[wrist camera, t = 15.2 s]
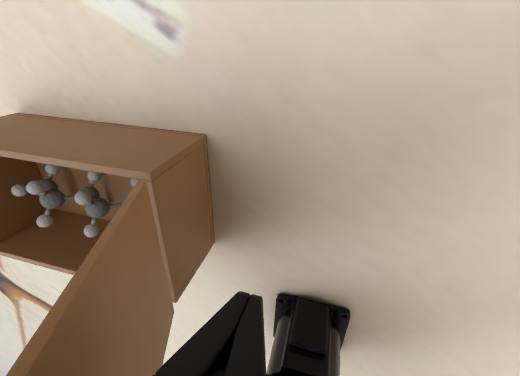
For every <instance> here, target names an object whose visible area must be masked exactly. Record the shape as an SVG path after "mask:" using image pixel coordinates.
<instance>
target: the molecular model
mask: <svg viewBox="0 0 520 376" xmlns="http://www.w3.org/2000/svg"><path fill="white" fill-rule="evenodd" d="M60 169H61V168H60V166H56V165H50V164H47V165H46V167H45V170H46V172H47V173H49V175H48V178H47V179H41V180H39V181H31V182H29V183H28V184H27V186H25V185H23V184H16V185H14V186H13V187H12V189H11V192H12V194H13V195H15V196H19V197H20V196H24V195H26V194H27V192H29V193H31V194H34V195H36V194H37V195H38V196H40V198H39V200H40V204H41V205H43V206H44V207H45V208H47V209H46V212H45V214H43V215H41V216H39V217H38V218H37V220H36V222H37V225H38V226H39V227H43V228H44V227H49V226H50V225H52V223H53V217H52V216H50V213H51V210H52V209H55V208H59V207H61V206H62V205H63V203H64V202H66V200H68V199H75V202H77V203H78V204H80V205H86V207H85V209H86V213H87V214H88V215H89V216H91V217H93V219H92V222H91V224H89V225H87V226H86V227H85V228H84V234H85V235H86V236H87V237H95V236H97V235H98V234H99V232H100V228H99V227H98V225H96V222H97V218H101V217H104V216H105V215H106V214H107V213H108V212H109V210H110V208H115V207H120V206H121V205H122V203H123V202H124V200H125V199H126V197H127V196H128V195H129V194H128V195H126V196H124V197H123V199H122V202H121V203H115V204H109V203H108V201H106V200H105V199H103V198H100V194H99V191H98V190H97V189H96V188H95V187H93V186H94V183H95V181H98V180H100V179H101V177H102V174H101V173H99V172H93V171H89V172H88V174H87V177H88V179H89V180H91V181H90V184H89V186H85V187H82V188H81V189H79V191H78V192H77V193H76V194H75V195H69V196H66V195H65V194H64V193H62V192H61V191H60V190H58V185H57V184H56V182H55V181H53V180H52V177H53V174H57V173H59V171H60ZM138 180H142V179H135V178H132V179H131V181H130V182H131V185H132V186H133V187H134V186H135V184H136V183H137V181H138Z"/></svg>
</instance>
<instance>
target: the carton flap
mask: <svg viewBox="0 0 520 376" xmlns="http://www.w3.org/2000/svg"><path fill="white" fill-rule="evenodd" d="M173 314H174V308H173V304H172V299H171V294H170V290H169V285H168V280H167V276H166V271H165V266H164V262H163V257H162V252H161V247H160V243H159V238H158V233H157V229H156V224H155V219H154V215H153V210H152V205H151V200H150V196H149V191H148V186H147V182H146V180H138V181H137V183H136V184H135V186H134V187H133V189H132V190H131V192H130V193H129V195H128V196H127V197H126V199H125V200H124V202H123V203H122V205H121V206H120V208H119V209H118V211H117V212H116V214H115V215H114V217H113V218H112V220H111V221H110V223H109V224H108V226H107V227H106V229H105V230H104V232H103V233H102V234H101V236H100V237H99V239H98V240H97V242H96V243H95V245H94V246H93V248H92V249H91V251H90V252H89V254H88V255H87V257H86V258H85V260H84V261H83V263H82V264H81V266H80V267H79V269H78V270H77V271H76V273H75V274H74V276H73V277H72V279H71V280H70V282H69V283H68V285H67V286H66V288H65V289H64V291H63V292H62V294H61V295H60V297H59V298H58V300H57V301H56V303H55V304H54V305H53V307H52V308H51V310H50V311H49V313H48V314H47V316H46V317H45V319H44V320H43V322H42V323H41V325H40V326H39V328H38V329H37V331H36V332H35V334H34V335H33V337H32V338H31V340H30V341H29V342H28V344H27V345H26V347H25V348H24V350H23V351H22V353H21V354H20V356H19V357H18V359H17V360H16V362H15V363H14V365H13V366H12V368H11V369H10V371H9V372H8V374H7V375H6V376H152V375H153V374H154V375H155V373H156V371H157V370H158V369H159V368H160V367H161V366H162V364H163V359H164V355H165V350H166V346H167V341H168V337H169V332H170V328H171V323H172V319H173Z"/></svg>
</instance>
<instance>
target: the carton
mask: <svg viewBox="0 0 520 376" xmlns="http://www.w3.org/2000/svg"><path fill="white" fill-rule="evenodd" d="M47 164H50V165H56V166H60V168H61V169H60V171H59V173H57V174H53V177H52V180H53V181H55V182H56V184H57V185H58V190H60V191H61V192H62V193H64V194H65V195H66V196H69V195H75V194H76V193H77V192H78V191H79V189H81V188H82V187H85V186H89V184H90V181H91V180H89V179H88V177H87V174H88V172H89V171H93V172H99V173H101V174H102V177H101V179H100V180H98V181H95V183H94V186H93V187H95V188H96V189H97V190H98V191H99V194H100V198H103V199H105V200H106V201H108V203H109V204H115V203H121V202H122V199H123V197H124V196H126V195H128V194H129V193H130V192H131V190H132V189H133V186H132V185H131V182H130V181H131V179H132V178H135V179H142V180H146V182H147V186H148V191H149V196H150V200H151V205H152V210H153V215H154V219H155V224H156V229H157V233H158V238H159V243H160V247H161V252H162V257H163V262H164V266H165V271H166V276H167V280H168V285H169V290H170V294H171V299H172V302H175V303H176V302H177V301H178V299H179V298H180V296H181V295H182V293H183V291H184V290H185V288H186V287H187V285H188V284H189V282H190V280H191V279H192V277H193V276H194V274H195V273H196V271H197V269H198V268H199V266H200V265H201V263H202V262H203V260H204V258H205V257H206V255H207V254H208V252H209V251H210V249H211V247H212V246H213V244H214V243H215V242H214V229H213V217H212V204H211V192H210V179H209V167H208V155H207V142H206V135H205V134H197V133H189V132H180V131H171V130H162V129H154V128H145V127H136V126H127V125H118V124H110V123H101V122H92V121H83V120H75V119H66V118H57V117H48V116H40V115H31V114H22V113H15V114H11V115H6V116H2V117H0V255H2V256H6V257H9V258H13V259H17V260H20V261H24V262H28V263H32V264H35V265H39V266H43V267H46V268H50V269H54V270H57V271H61V272H65V273H68V274H72V275H74V274H75V273H76V271H77V270H78V269H79V267H80V266H81V264H82V263H83V261H84V260H85V258H86V257H87V255H88V254H89V252H90V251H91V249H92V248H93V246H94V245H95V243H96V242H97V240H98V239H99V237H100V236H101V234H102V233H103V232H104V230H105V229H106V227H107V226H108V224H109V223H110V221H111V220H112V218H113V217H114V215H115V214H116V212H117V211H118V209H119V208H120V207H115V208H110V210H109V212H108V213H107V214H106V215H105V216H104V217H101V218H97V222H96V225H98V227H99V228H100V232H99V234H98V235H97V236H95V237H87V236H86V235H85V234H84V228H85V227H86V226H87V225H89V224H91V222H92V219H93V217H91V216H89V215H88V214H87V213H86V209H85V207H86V205H80V204H78V203H77V202H75V199H68V200H66V202H64V203H63V205H62V206H61V207H59V208H55V209H52V210H51V213H50V216H52V217H53V223H52V225H50V226H49V227H44V228H43V227H39V226H38V225H37V222H36V220H37V218H38V217H39V216H41V215H43V214H45V212H46V209H47V208H45V207H44V206H43V205H41V204H40V200H39V198H40V196H38V195H37V194H36V195H34V194H31V193H29V192H27V194H26V195H24V196H20V197H19V196H15V195H13V194H12V192H11V189H12V187H13V186H14V185H16V184H23V185H25V186H27V184H28V183H29V182H31V181H39V180H41V179H47V178H48V175H49V173H47V172H46V170H45V167H46V165H47Z"/></svg>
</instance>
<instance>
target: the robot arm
mask: <svg viewBox="0 0 520 376" xmlns="http://www.w3.org/2000/svg"><path fill="white" fill-rule="evenodd" d="M349 320H350V311H349V310H347V309H345V308H340V307H336V306H332V305H328V304H324V303H320V302H315V301H311V300H307V299H303V298H299V297H295V296H290V295H286V294H281V293H280V294H278V295H277V299H276V309H275V321H274V334H273V336H274V342H273V347H272V351H271V356H270V360H269V364H268V369H267V373H266V361H265V340H264V319H263V299H262V297H261V296H258V295H254V294H252V295H250V294H249V293H246V292H242V291H239V292H238V293H236V294H235V295H234V296H233V297H232V298H231V299H230V300H229V301H228V302H227V303H226V304H225V305H224V306H223V307H222V308H221V309H220V310H219V311H218V312H217V313H216V314H215V315H214V316H213V317H212V318H211V319H210V320H209V321H208V322H207V323H206V324H205V325H204V326H203V327H202V328H200V329H199V330H198V331H197V332H196V333H195V334H194V335H193V336H192V337H191V338H190V339H189V340H188V341H187V342H186V343H185V344H184V345H183V346H182V347H181V348H180V349H179V350H178V351H177V352H176V353H175V354H174V355H173V356H172V357H171V358H170V359H169V360H168V361H167V362H166V363H165V364H163V365H162V366H161V367H160V368H159V369H158V370H157V371H156V373H155V375H154V374H153V375H152V376H340V350H341V346H342V343H343V340H344V336H345V333H346V330H347V326H348V323H349Z"/></svg>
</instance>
